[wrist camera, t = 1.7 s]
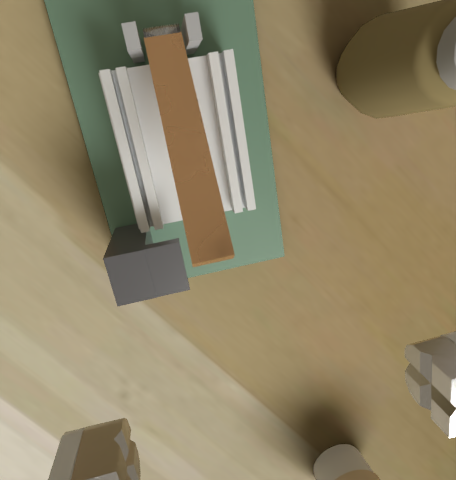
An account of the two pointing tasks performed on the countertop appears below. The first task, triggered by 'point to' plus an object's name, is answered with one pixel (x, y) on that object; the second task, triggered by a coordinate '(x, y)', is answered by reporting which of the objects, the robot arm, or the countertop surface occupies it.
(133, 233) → the block
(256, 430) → the countertop surface
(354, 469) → the coffee cup
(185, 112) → the strap
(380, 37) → the squeeze bottle
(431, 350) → the robot arm
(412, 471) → the countertop surface
